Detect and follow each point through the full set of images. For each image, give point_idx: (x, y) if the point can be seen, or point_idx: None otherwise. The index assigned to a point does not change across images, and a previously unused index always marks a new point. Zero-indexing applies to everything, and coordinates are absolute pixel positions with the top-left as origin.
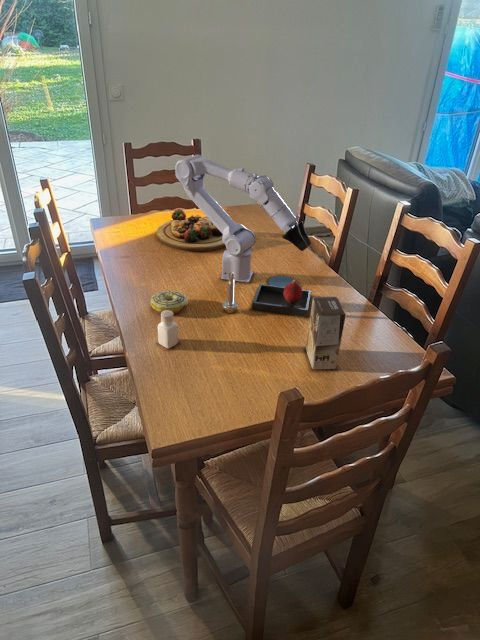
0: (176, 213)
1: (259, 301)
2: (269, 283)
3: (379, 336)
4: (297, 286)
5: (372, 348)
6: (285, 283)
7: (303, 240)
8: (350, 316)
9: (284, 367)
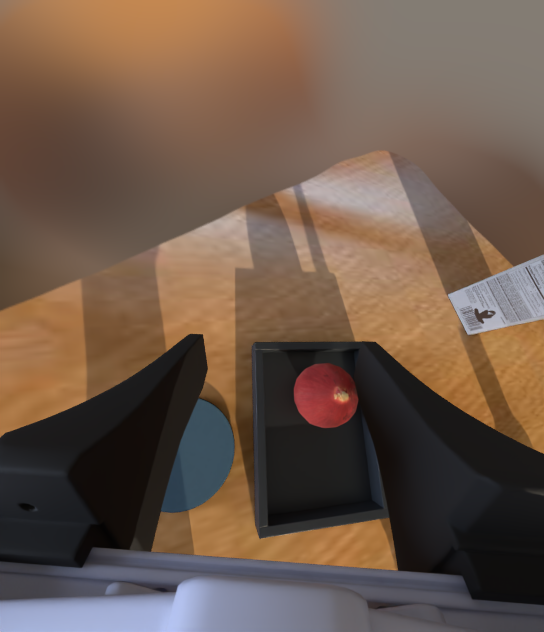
0: None
1: (335, 497)
2: (203, 501)
3: (367, 201)
4: (346, 380)
5: (409, 218)
6: (187, 439)
7: (408, 372)
8: (314, 247)
9: (531, 368)
